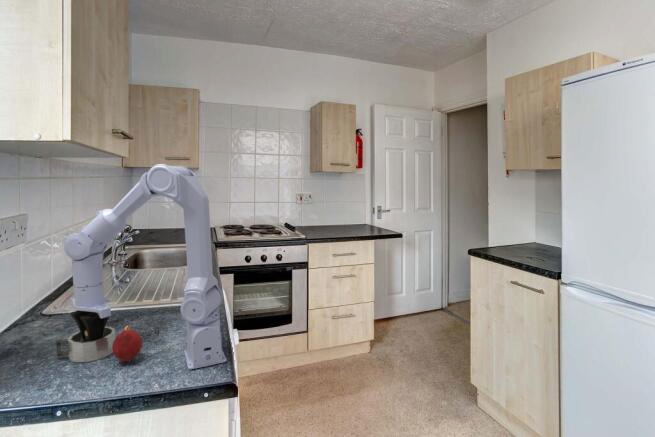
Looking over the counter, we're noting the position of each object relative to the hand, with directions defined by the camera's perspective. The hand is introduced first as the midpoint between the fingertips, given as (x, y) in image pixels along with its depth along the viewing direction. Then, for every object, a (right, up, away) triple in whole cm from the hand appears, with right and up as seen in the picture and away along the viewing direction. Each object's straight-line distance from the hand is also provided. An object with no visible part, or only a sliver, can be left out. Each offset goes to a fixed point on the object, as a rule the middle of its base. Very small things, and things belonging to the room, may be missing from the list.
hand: (92, 341), depth 82 cm
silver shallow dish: (-1, -3, 0) cm, 3 cm away
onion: (+10, -4, -3) cm, 11 cm away
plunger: (0, -2, 0) cm, 2 cm away
